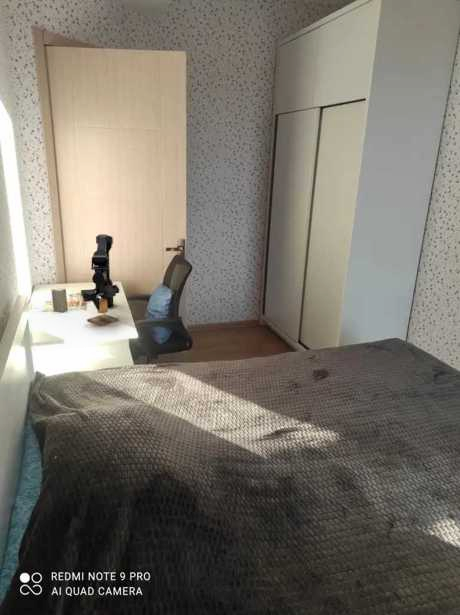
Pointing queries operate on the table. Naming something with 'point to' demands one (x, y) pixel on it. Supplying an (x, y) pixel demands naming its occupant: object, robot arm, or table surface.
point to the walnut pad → (102, 320)
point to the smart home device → (86, 291)
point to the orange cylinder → (102, 306)
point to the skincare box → (59, 299)
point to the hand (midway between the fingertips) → (102, 308)
